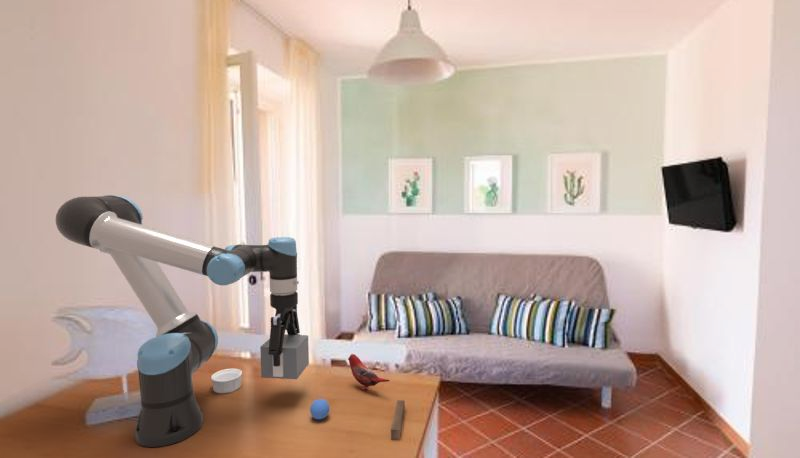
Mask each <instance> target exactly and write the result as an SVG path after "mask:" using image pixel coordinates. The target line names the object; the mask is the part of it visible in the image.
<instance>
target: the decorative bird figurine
mask: <svg viewBox="0 0 800 458" xmlns="http://www.w3.org/2000/svg"><path fill="white" fill-rule="evenodd" d="M347 360H348V364H349V366H350V370H351V374H352V376H353V378H354V379H355V381H356V382H358V383H359V384H360V385H361V386H360V385H358V387H359V388H360V389H361V390H365V391H367V392H368V391H369V392H370V389H368V388H369V387H374V386H376V385H377V384H379V383H385V382H387V383H388V382H390V381H391V380H390V379H387V378H381V377H378V376H377V374H376V373H375V372H374V371H372V369H370V368H369V367H367V366H366V365H365V364H364V363H363V362H362V361H361V359H360V358H359V357H358V356H357V355H356V354H354V353H351V354H350V355H349V357H348V358H347Z"/></svg>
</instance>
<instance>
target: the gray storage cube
mask: <svg viewBox="0 0 800 458" xmlns="http://www.w3.org/2000/svg"><path fill="white" fill-rule="evenodd" d="M269 341H270V338H269V339H267V341H265V342H264V343H263V344H261V346H260V349H259V350H260V377H261V378H265V379H280V380H298V379H299V378H300V377H301V375H302V373H303V372H304V371H305V370H306V369H307V367H308V365H309V364H310V363H309V362H310V358H309V356H310V353H309V351H310V350H309V348H310V347H309V335H308V334H307V335H306V334H304V335H303V334H300V335H288V333H287V334H285V335H284V340H283V346H282V352H281V353H283V371H284V376H283V377H273V355H269V354H268V352H269Z"/></svg>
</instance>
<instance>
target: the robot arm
mask: <svg viewBox="0 0 800 458" xmlns="http://www.w3.org/2000/svg"><path fill="white" fill-rule="evenodd" d="M55 214H56V215H55V225H56V227H57V230H58V232H59V234H61V235H62V236H63V237H64V238H65V239H67V240H68V241H70V242H73V243H75V244H78V245H81V246H85V247H89V248H93V249H96V250H99V251H100V252H101V253H104V254H108V255H110V257H111V258H112V260H113V261H114V262H115V264H116V266H117V267H118V269H119V271H120V272H121V274H122V275H123V276H124V278H125V280H126V281H127V282H128V284H129V286H130V287H131V289H132V290H133V292H134V294H135V295H136V297H137V298H138V300H139V302H140V303H141V304H142V306H143V308H144V309H145V311H146V313H147V314H148V315H149V317H150V319H151V320H152V322H153V323H154V324H155V326H156V328H157V330H156V331H157V332H156V334H155V337H151V338H150V339H148V340H146V342H143V344H141V345H140V347H139V349H138V351H137V361H136V367H137V373H138V383H139V393H140V394H139V396H140V403H141V405H140V406H141V407H140V410H139V415H138V418H137V422H136V426H135V429H134V430H135V431H134V435H135V442H136V443H137V444H138V445H141V446H143V447H146V448H157V447H158V448H159V447H165V446H169V445H172V444H175V443H178V442H179V443H180V442H182V441H185V440H186V439H188V438H189V437H191V436H192V435H194V434H195V433H197V432H198V431H199V430H200V429H201V428H202V426H203V423H204V420H203V412H202V410H201V408H200V405H199V404H198V401H197V399H196V397H195V395H194V394H195V393H194V385H193V384H194V381H193V374H194V373H196V371H197V370H199V368H200V367H201V366H203V365H204V364H205V363H206V362H208V361H209V360H210V359H211V357H212V356H213V354H214V353H215V352H216V350H217V348H218V343H219V336H218V332H217V330H216V328H215V327H214V326H213V325H212V324H211V323H210V322H208V321H204V320H202V319H201V318H200V316H199V315H198V313H197V312H193V311H189V310H188V308H187V307H186V305H185V304H184V302H183V300H182V299H181V298H180V296H179V295H178V292H177V291H176V290H175V288H174V286H173V285H172V284H171V282H170V280H169V279H168V277H167V275H166V274H165V272H164V270H163V269H162V267H161V266H160V264H164V265H167V266H170V267H175V268H177V269H181V270H184V271H188V272H192V273H195V274H199V275H201V276H205V277H208V278H209V280H210V281H211V282H212V283H213V284H215V285H218V286H229V285H231V284H234V283H236V282H238V281H239V280H241V279H242V278H244V277H245V276H247V275H249V273H255V272H256V273H259V272H262V273H266V272H268V273H269V292H270V294H269V299H270V303H269V304H270V307H271V308H273V309H275V315H274V316H271V317H270V330H269V339H270V341H269V352H268V354H269V355H273V377H283V376H284V371H283V353H281V352H282V346H283V340H284V335H285V333H287V335H301V334H300V331H301V330H300V325H299V318H298V304H299V296H298V295H299V294H298V292H297V291H298V284H300V282H299V280H298V251H297V242H296V239H295V238H294V237H290V236H281V237H279V236H278V237H271V238H269V239H268V243H267V244H261V245H260V244H232V245H227V246H225V248H221V247H217V246H214V245H211V244H208V243H205V242H202V241H201V242H200V241H198V240H195V239H191V238H187V237H184V236H180V235H178V234H174V233H171V232H168V231H164V230H160V229H157V228H154V227H150V226H147V225H144V224H143V213H142V210H141V209H140V206H139V205H138V204H136V202H134V201H133V200H132V199H130V198H127V197H124V196H119V195H115V194H114V195H112V194H111V195H102V196H77V197H73V198H71V199H69V200H66V201H65V202H64V203H63V204H62V205H61V206H60V207H59V208H58V209H57V211H56V213H55ZM159 263H160V264H159Z"/></svg>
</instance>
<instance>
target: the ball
mask: <svg viewBox="0 0 800 458" xmlns="http://www.w3.org/2000/svg"><path fill="white" fill-rule="evenodd" d="M309 411H310V415H311V417H312V418H314V419H315V420H323V419H325V418H326V417H327V416H328V415H329V413H330V404H329V402H328V401H327V400H326V399H324V398H319V399H316V400H314V401H313V402H312V404H311V406H310V409H309Z"/></svg>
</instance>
